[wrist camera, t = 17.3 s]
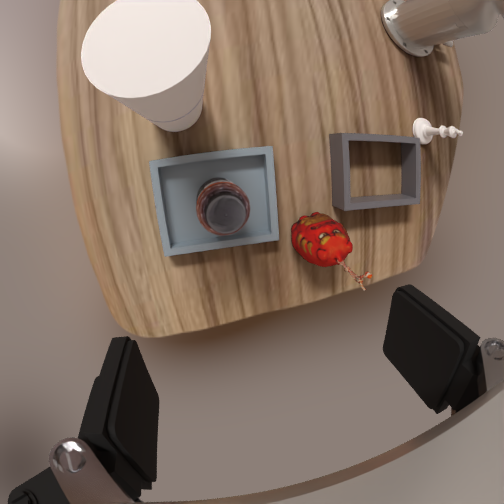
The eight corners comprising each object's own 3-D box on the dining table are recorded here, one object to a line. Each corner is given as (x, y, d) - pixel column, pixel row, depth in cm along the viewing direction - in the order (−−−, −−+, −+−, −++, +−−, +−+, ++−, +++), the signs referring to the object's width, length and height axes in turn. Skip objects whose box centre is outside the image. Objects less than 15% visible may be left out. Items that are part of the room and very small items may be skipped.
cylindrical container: (171, 142, 35) (127, 125, 12) (139, 106, 33) (60, 47, 10) (213, 109, 35) (238, 42, 12) (181, 72, 32) (162, -29, 9)
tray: (267, 146, 38) (272, 146, 36) (274, 235, 43) (279, 239, 40) (152, 160, 36) (149, 161, 33) (166, 250, 40) (164, 256, 38)
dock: (404, 137, 41) (419, 137, 37) (405, 199, 45) (419, 203, 41) (329, 134, 39) (341, 133, 35) (332, 205, 43) (344, 210, 39)
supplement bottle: (239, 218, 40) (255, 243, 30) (196, 220, 39) (196, 246, 29) (240, 176, 38) (256, 185, 28) (196, 177, 37) (195, 186, 27)
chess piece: (426, 149, 42) (466, 153, 33) (409, 135, 41) (450, 137, 32) (433, 126, 41) (472, 128, 32) (416, 112, 40) (456, 111, 30)
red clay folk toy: (328, 204, 43) (384, 231, 29) (337, 245, 45) (389, 285, 31) (282, 220, 42) (324, 256, 28) (294, 261, 45) (335, 310, 31)
